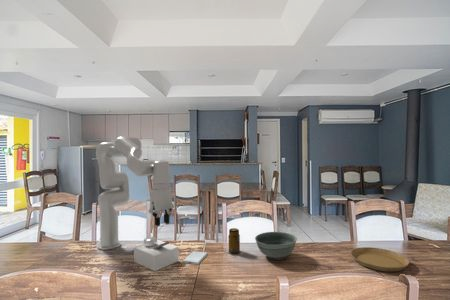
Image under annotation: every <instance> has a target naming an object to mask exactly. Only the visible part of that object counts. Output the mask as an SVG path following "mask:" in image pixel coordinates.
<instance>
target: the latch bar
mask: <svg viewBox="0 0 450 300" xmlns="http://www.w3.org/2000/svg"><path fill="white" fill-rule="evenodd" d="M167 244H170V242H169V241H166V243H163V244H160V245H157V246H154V247H153V249H156V248H159V247H162V246H165V245H167Z"/></svg>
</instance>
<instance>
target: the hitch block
mask: <svg viewBox="0 0 450 300" xmlns="http://www.w3.org/2000/svg"><path fill="white" fill-rule="evenodd" d="M166 242H167V241H166ZM166 242H165V241H162V240H160V239H157V245H160V244H163V243H166ZM157 245H156V246H157ZM133 262H134V263H136V264H138V265H141V266H142V267H145V268H147V269H149V270H151V271H154V272H156V271H158V270H161V269H163V268H166V267H167V266H169V265H173V264H175V263H177V262H179V246H177V245H174V244H173V243H172V244H171V243H169V244H167V245H165V246H162V247H159V248H156V249H153V247H150V248H149V247H144V243H143V244H140V245H137V246H134V247H133Z"/></svg>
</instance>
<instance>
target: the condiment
mask: <svg viewBox="0 0 450 300" xmlns="http://www.w3.org/2000/svg"><path fill="white" fill-rule="evenodd" d="M240 236H241V235H240V230H239V228H235V227H232V228H229V229H228V238H227V239H228V250H225V253H227V254H230V255H233V256H235V257H236V256H240V255H243V254H246V252H245V251H243V250H241V249H240V246H241V245H240V244H241V242H240V241H241V239H240V238H241V237H240Z"/></svg>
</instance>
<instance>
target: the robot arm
mask: <svg viewBox="0 0 450 300" xmlns="http://www.w3.org/2000/svg"><path fill="white" fill-rule="evenodd" d="M142 154H143V150H142V142H141V140H140V139H139V137H136V136H118V137H117V138H116V139H114V141H104V142H100V143H98V145H97V146H96V149H95V157H96V161H97V163H98V173H99V176H98V177H99V185H100V187H101V189H104V190H107V189H108V190H107V191H104V192H101V193H100V194H99V195H98V197H97V203H98V208H99V222H100V223H99V226H100V227H99V232H100V233H99V237H100V238H99V242H100V243H99V244H97V246H96V247H97V249H98V250H101V251H103V250H104V251H108V250H114V249H117V248H119V247H120V246H122V242H121V241H120V240H119V213H118V212H117V210H116V209H115V207H116V208H117V207H121V206H124V205H127V204H128V203H129V201H130V184H129V177H128V175H127V174H126V172H124V171H116V165H115V162H114V160H113V159H112V158H121V157H122V158H124V157H125V158H126V165H127V167H128V169H129V170H130V171H131V172H132V173H133V174H134V175H135V176H138V177H147V176H153V189H152V190H151V193H150V201H149V204H150V205H149V209H148V213H149V214H151V215H152V216H153V218H154V225H155V226H157V227H160V226H161V217H160V212H161V211H163V212H164V214H163V223H165V224H170V215H171V212H172V211H173V209H174V208H175V205H174V204H173V197H172V190H171V187H170V186H171V185H172V183H170V163H169V161H168V160H156V159H151V160H150V159H146V160H140V158H141V157H142ZM110 189H114V190H110Z"/></svg>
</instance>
